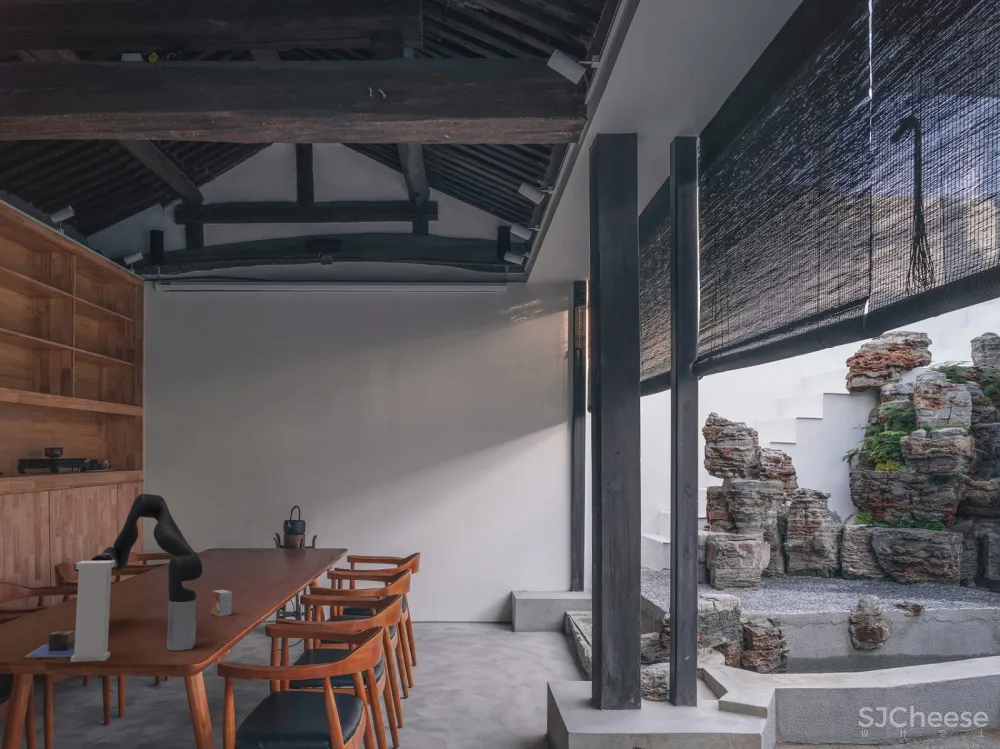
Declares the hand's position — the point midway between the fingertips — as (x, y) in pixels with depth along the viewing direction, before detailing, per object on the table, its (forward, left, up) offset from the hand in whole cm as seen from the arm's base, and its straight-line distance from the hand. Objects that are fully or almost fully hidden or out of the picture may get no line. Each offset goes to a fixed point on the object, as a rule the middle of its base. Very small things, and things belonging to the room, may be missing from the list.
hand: (90, 568), depth 312 cm
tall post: (-9, +25, -27) cm, 38 cm away
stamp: (+4, +8, -26) cm, 28 cm away
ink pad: (+5, +14, -27) cm, 31 cm away
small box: (-41, -47, -28) cm, 68 cm away
